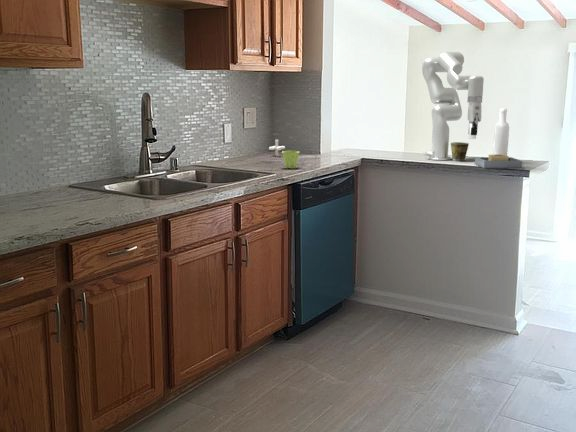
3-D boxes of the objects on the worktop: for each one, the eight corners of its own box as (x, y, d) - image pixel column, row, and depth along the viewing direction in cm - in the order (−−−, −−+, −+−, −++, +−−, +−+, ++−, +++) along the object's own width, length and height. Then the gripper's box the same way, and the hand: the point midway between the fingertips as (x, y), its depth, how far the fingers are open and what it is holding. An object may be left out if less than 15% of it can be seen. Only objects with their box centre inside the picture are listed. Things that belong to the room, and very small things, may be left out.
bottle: (497, 163, 349) (501, 109, 342) (489, 161, 356) (493, 108, 350) (509, 162, 351) (513, 108, 344) (501, 160, 358) (505, 108, 352)
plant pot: (278, 167, 332) (278, 151, 330) (290, 166, 338) (290, 150, 336) (290, 169, 325) (290, 153, 323) (303, 167, 331) (303, 151, 330)
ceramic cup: (452, 158, 367) (453, 142, 365) (469, 160, 362) (470, 142, 360) (446, 161, 356) (447, 144, 354) (463, 162, 351) (464, 144, 349)
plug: (469, 138, 332) (471, 121, 330) (468, 138, 335) (469, 121, 333) (476, 138, 332) (477, 121, 330) (474, 138, 335) (475, 121, 333)
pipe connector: (266, 155, 383) (266, 139, 380) (280, 154, 387) (280, 138, 384) (272, 157, 374) (272, 140, 372) (287, 156, 378) (287, 140, 376)
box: (483, 168, 328) (484, 157, 327) (474, 164, 344) (475, 153, 342) (521, 168, 328) (522, 157, 327) (510, 164, 344) (511, 153, 342)
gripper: (486, 100, 321) (484, 136, 325) (477, 99, 337) (475, 133, 341) (472, 100, 321) (469, 136, 325) (463, 99, 337) (461, 133, 341)
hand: (472, 134), depth 333 cm, fingers closed on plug, 3 cm apart
